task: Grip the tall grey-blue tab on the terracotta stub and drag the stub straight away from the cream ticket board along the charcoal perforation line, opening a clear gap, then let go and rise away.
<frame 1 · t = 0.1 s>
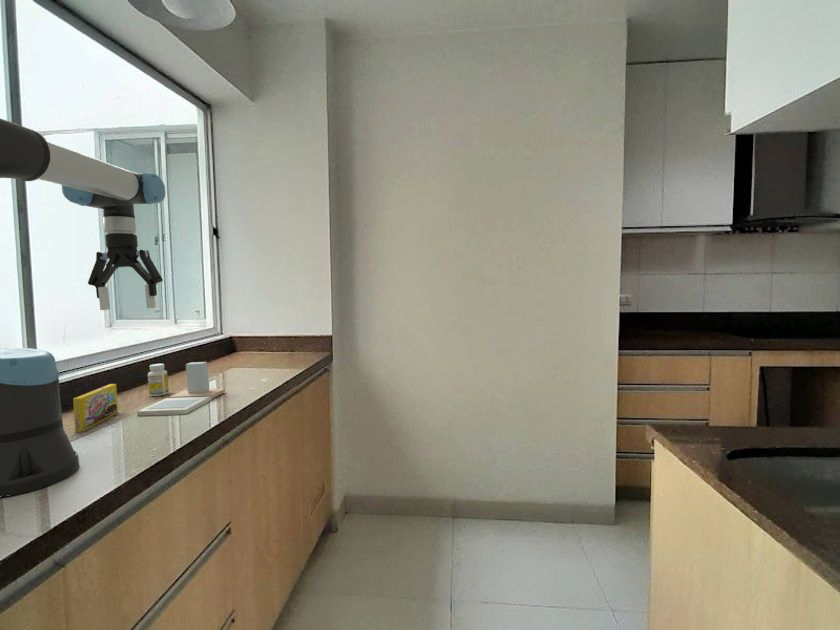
hand: (128, 309, 127), 28 cm above the counter, fingers open, 13 cm apart
supplement bottle: (159, 395, 141), on the counter
stub: (196, 379, 135), point 5 cm above the counter, slide at 0.0 cm
candy box: (98, 422, 114), on the counter
ticket board: (176, 407, 125), on the counter
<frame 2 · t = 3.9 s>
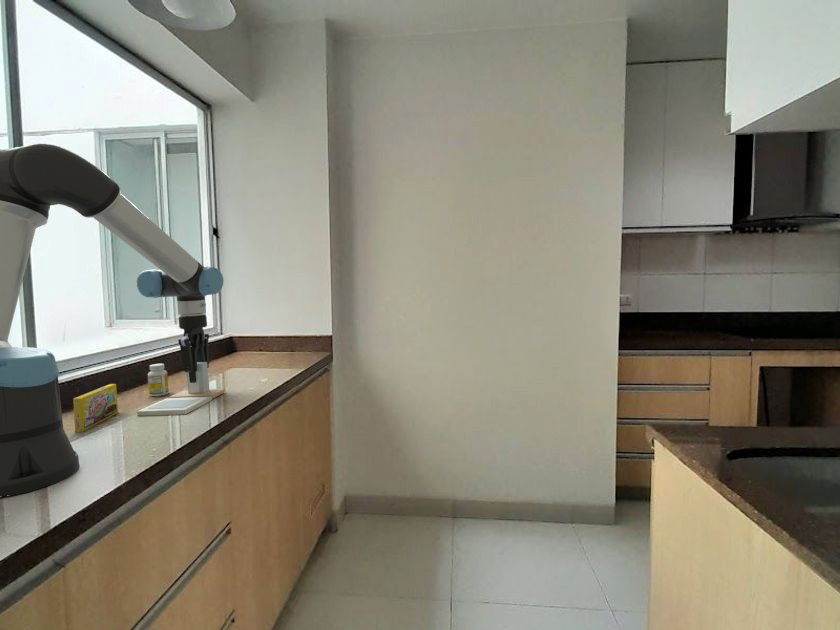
hand: (198, 391, 136), 2 cm above the counter, fingers closed on stub, 3 cm apart
stub: (196, 379, 136), point 5 cm above the counter, slide at 0.0 cm, touching gripper
everything else where it was.
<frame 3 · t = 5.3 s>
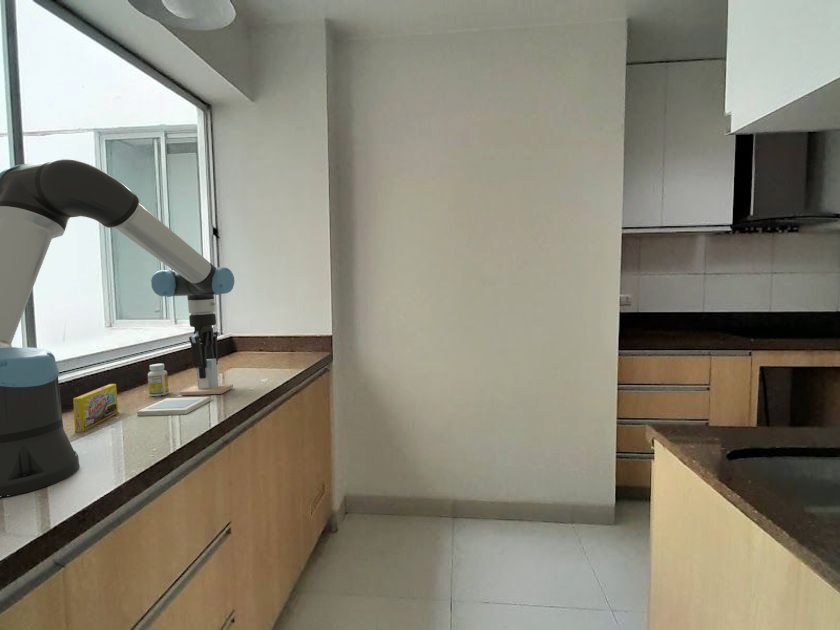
hand: (208, 386, 142), 2 cm above the counter, fingers closed on stub, 3 cm apart
stub: (206, 375, 141), point 5 cm above the counter, slide at 5.7 cm, touching gripper
everything else where it was.
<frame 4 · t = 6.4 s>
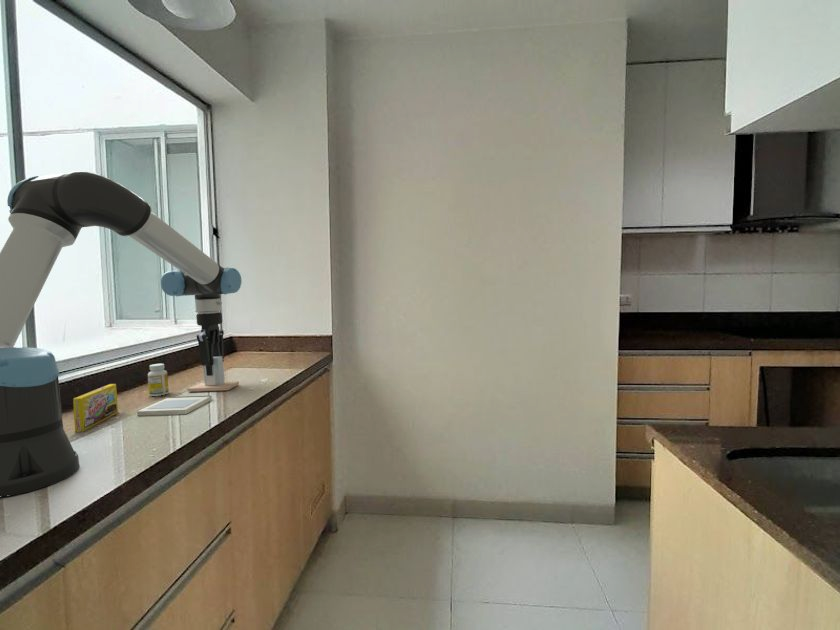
hand: (214, 383, 146), 2 cm above the counter, fingers closed on stub, 3 cm apart
stub: (212, 372, 145), point 5 cm above the counter, slide at 10.0 cm, touching gripper
everything else where it was.
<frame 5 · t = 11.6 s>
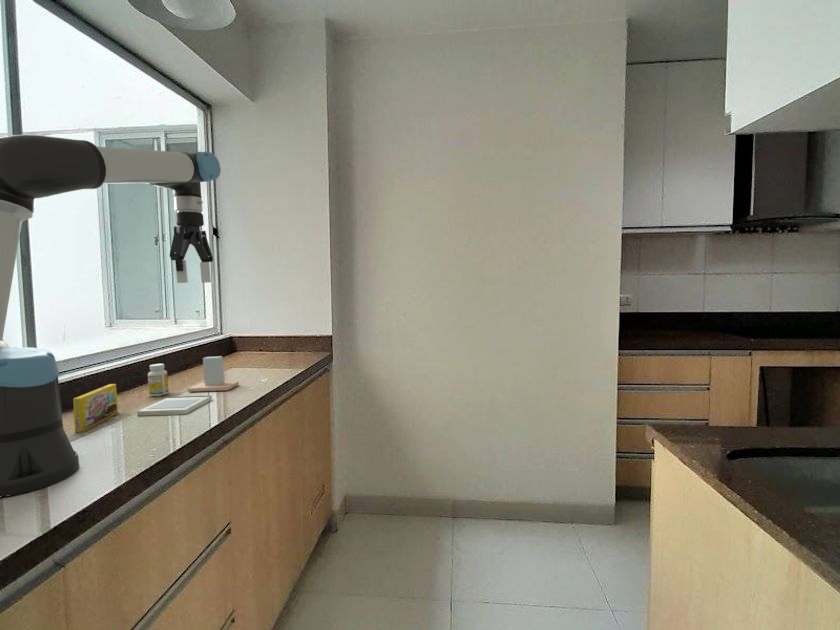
hand: (195, 282, 137), 35 cm above the counter, fingers open, 13 cm apart
stub: (212, 372, 145), point 5 cm above the counter, slide at 10.0 cm
everything else where it was.
at the end: stub slide at 10.0 cm; the gripper is holding nothing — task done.
